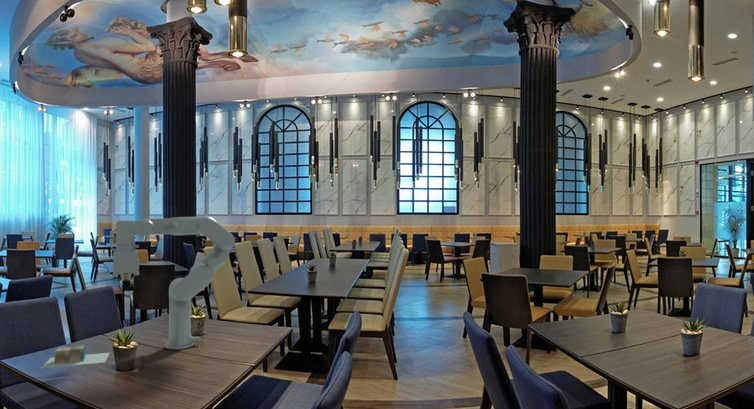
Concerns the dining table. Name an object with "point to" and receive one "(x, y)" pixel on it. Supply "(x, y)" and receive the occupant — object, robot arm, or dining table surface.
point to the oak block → (70, 354)
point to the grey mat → (88, 360)
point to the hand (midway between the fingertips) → (126, 289)
